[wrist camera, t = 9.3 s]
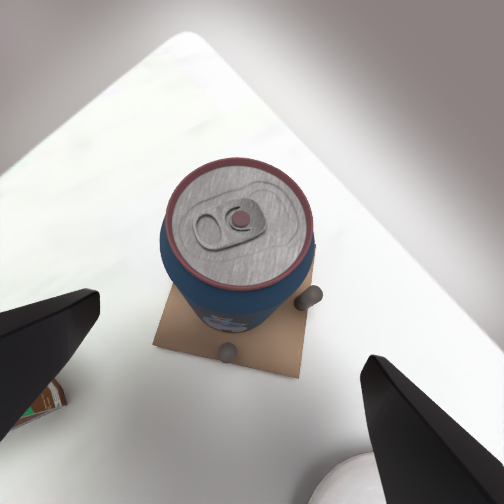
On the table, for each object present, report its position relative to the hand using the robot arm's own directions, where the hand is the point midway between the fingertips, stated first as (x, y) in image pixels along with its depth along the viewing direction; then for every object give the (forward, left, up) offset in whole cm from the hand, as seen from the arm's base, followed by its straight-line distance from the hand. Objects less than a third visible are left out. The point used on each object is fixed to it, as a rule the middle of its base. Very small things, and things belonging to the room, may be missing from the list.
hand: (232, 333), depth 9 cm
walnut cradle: (+4, +2, -13) cm, 14 cm away
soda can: (+3, +3, -12) cm, 13 cm away
